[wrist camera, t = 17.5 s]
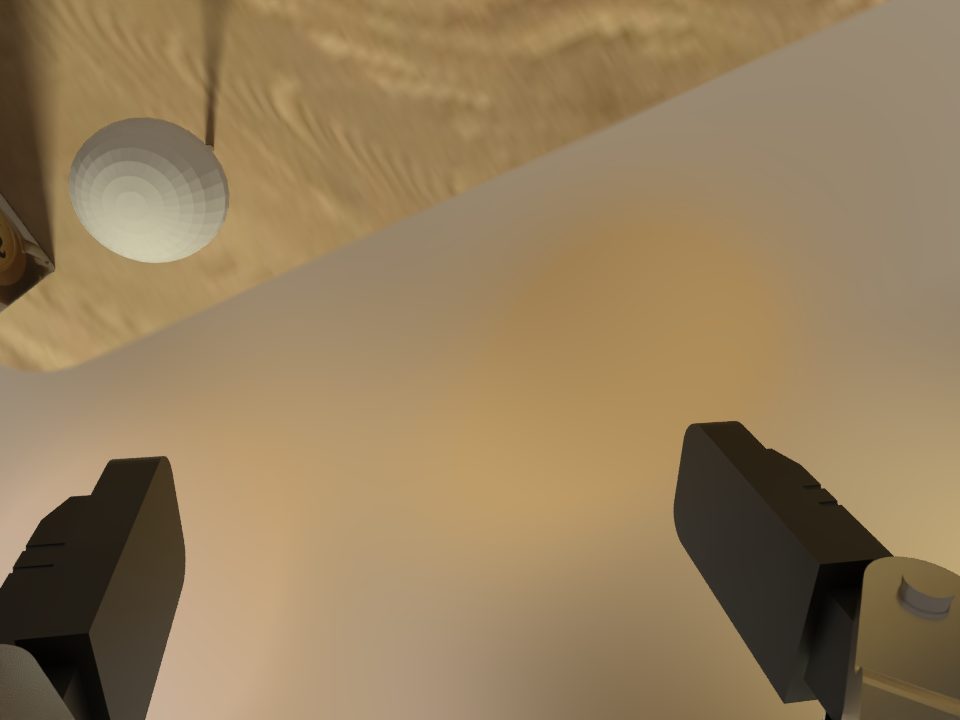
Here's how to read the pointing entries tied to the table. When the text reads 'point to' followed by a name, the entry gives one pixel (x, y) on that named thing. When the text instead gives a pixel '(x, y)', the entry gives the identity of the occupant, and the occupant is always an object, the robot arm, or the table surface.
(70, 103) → the table surface
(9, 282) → the coffee box
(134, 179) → the lollipop
